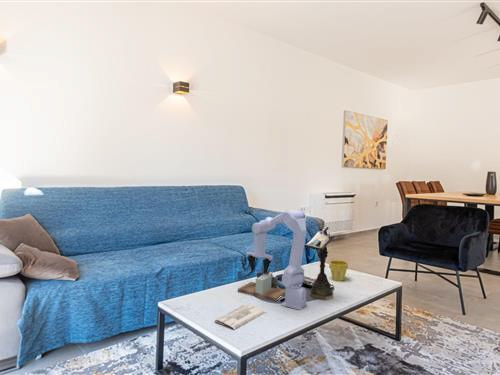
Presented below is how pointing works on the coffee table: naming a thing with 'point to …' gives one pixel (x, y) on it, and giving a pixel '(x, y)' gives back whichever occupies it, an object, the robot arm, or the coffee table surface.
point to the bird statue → (321, 266)
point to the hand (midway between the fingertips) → (259, 271)
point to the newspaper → (241, 316)
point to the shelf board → (271, 294)
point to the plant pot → (338, 269)
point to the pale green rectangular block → (263, 283)
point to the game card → (264, 273)
